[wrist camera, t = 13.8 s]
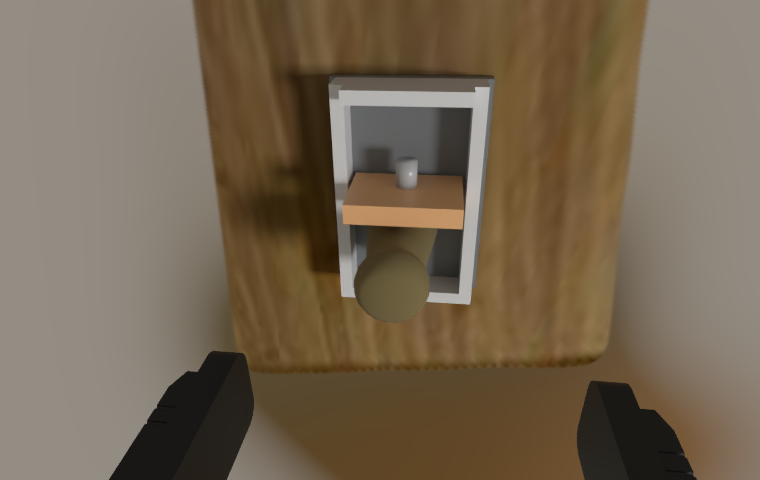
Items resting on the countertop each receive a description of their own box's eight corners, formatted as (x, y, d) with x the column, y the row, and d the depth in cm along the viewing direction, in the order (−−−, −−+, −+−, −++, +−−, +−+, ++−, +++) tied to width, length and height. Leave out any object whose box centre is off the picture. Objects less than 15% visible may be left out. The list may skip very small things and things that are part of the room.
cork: (402, 265, 45) (389, 350, 35) (352, 220, 43) (324, 296, 34) (454, 224, 42) (455, 304, 33) (403, 175, 41) (388, 243, 31)
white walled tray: (331, 74, 38) (316, 90, 34) (493, 75, 37) (499, 92, 33) (343, 273, 47) (332, 306, 43) (474, 281, 46) (476, 315, 42)
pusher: (354, 148, 40) (340, 178, 35) (464, 151, 39) (466, 182, 34) (356, 189, 41) (343, 224, 36) (461, 193, 40) (462, 229, 35)
